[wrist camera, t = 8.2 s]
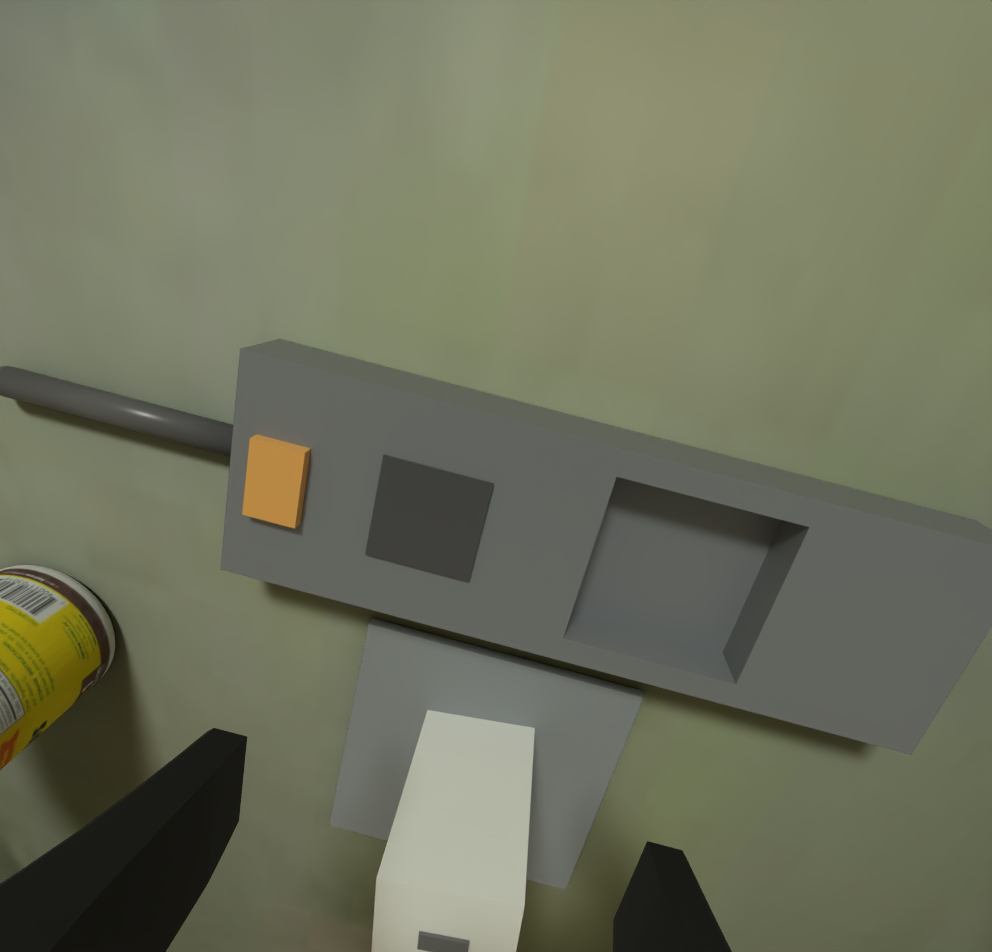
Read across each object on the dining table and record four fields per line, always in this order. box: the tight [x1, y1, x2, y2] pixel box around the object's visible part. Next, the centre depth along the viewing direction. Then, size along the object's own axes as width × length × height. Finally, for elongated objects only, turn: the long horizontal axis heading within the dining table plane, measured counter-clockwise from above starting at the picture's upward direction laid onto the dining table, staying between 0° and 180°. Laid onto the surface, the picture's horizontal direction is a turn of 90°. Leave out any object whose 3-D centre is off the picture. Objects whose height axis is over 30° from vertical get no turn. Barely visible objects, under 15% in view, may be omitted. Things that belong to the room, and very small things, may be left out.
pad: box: [330, 618, 643, 890], centre depth 23 cm, size 10×10×1 cm
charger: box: [372, 710, 535, 952], centre depth 20 cm, size 4×4×7 cm
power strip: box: [0, 339, 992, 755], centre depth 18 cm, size 31×7×3 cm, turn 76°
